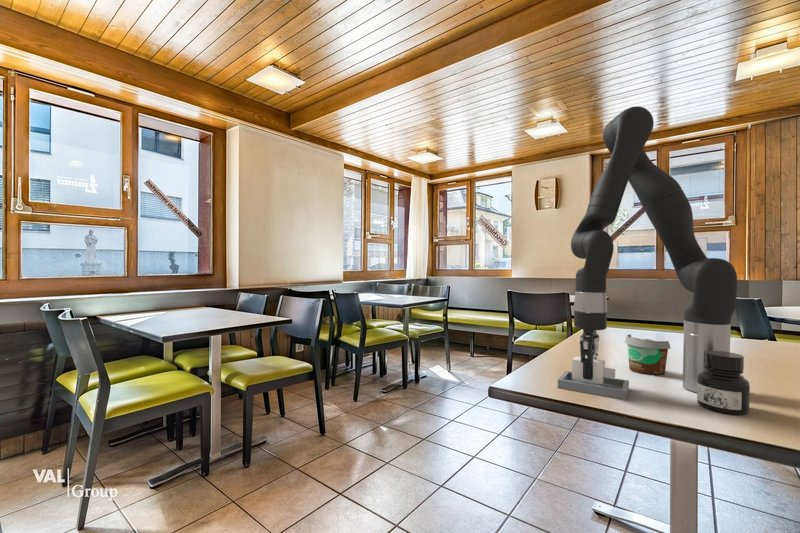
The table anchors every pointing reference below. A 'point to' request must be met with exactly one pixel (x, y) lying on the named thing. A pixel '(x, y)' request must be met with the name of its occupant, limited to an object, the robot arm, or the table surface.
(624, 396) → the tray
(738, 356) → the ink bottle
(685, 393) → the table surface
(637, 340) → the food container
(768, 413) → the table surface
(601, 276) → the robot arm
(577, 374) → the plug
